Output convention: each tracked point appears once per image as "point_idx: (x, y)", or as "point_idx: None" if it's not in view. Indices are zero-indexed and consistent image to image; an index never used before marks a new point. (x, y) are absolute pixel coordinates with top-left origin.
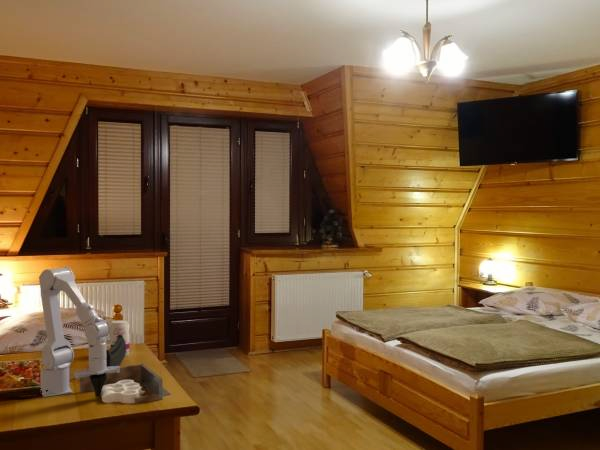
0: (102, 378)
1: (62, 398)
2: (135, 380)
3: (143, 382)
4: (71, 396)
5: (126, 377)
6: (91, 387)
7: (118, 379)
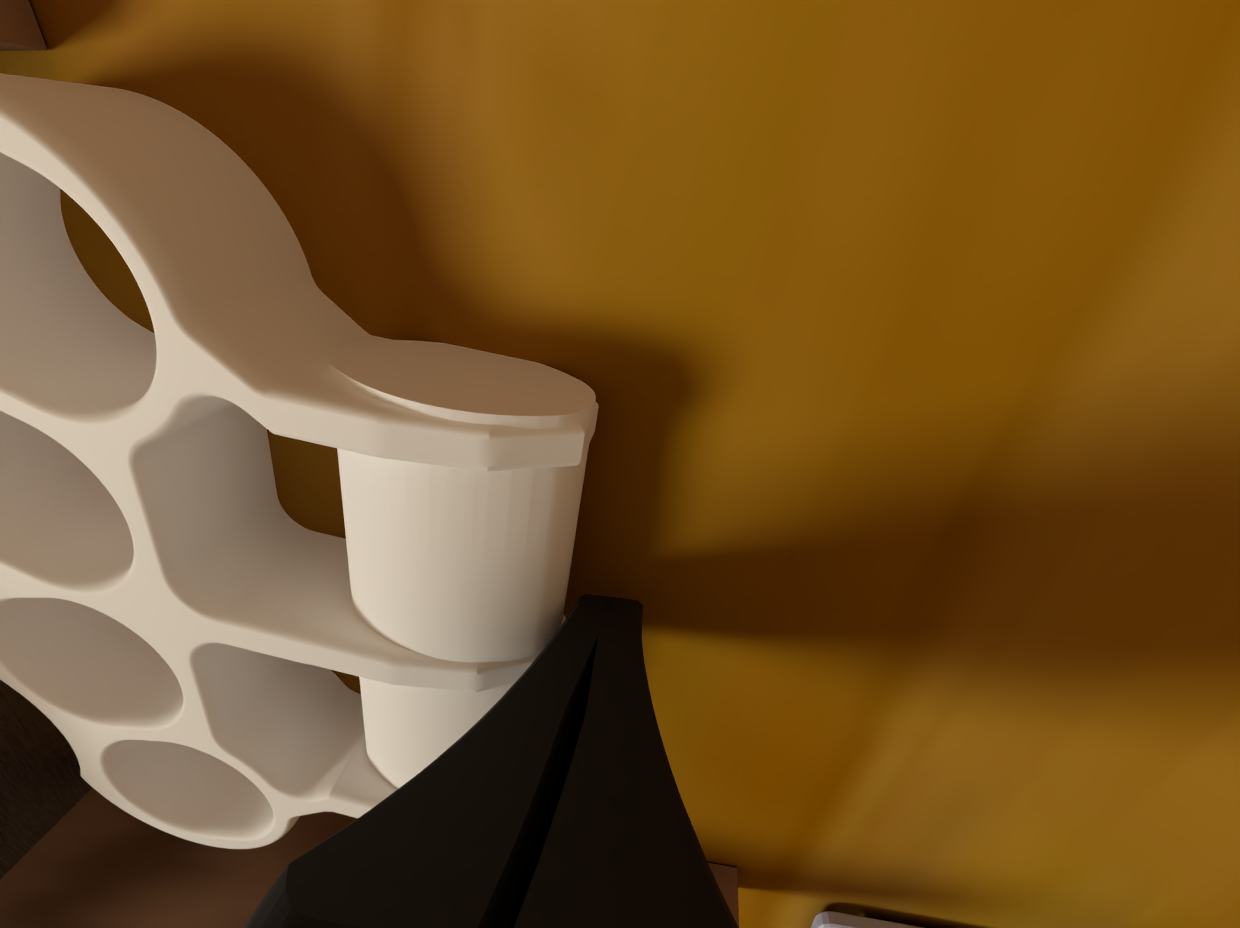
0: (388, 922)
1: (998, 845)
2: None
3: (41, 728)
4: (873, 839)
5: (183, 882)
6: None
7: None
